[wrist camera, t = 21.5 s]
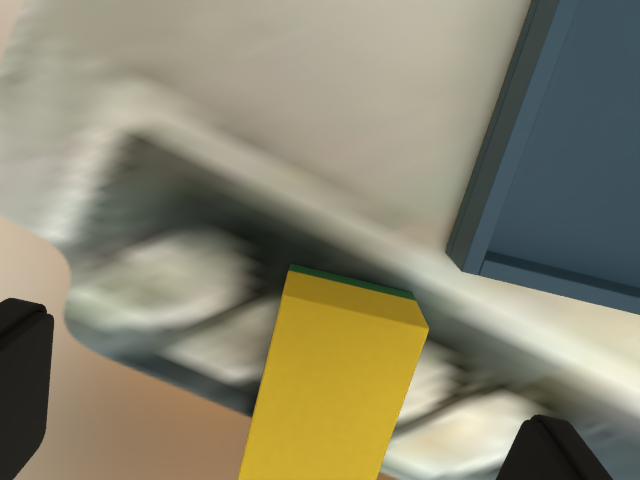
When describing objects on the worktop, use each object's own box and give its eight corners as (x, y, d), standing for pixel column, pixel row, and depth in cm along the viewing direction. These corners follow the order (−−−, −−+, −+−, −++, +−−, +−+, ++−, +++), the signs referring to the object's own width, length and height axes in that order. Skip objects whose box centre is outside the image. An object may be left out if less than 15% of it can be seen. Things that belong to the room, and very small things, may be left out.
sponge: (360, 448, 26) (367, 507, 22) (250, 424, 25) (237, 479, 21) (412, 292, 23) (430, 328, 19) (290, 263, 23) (282, 293, 19)
